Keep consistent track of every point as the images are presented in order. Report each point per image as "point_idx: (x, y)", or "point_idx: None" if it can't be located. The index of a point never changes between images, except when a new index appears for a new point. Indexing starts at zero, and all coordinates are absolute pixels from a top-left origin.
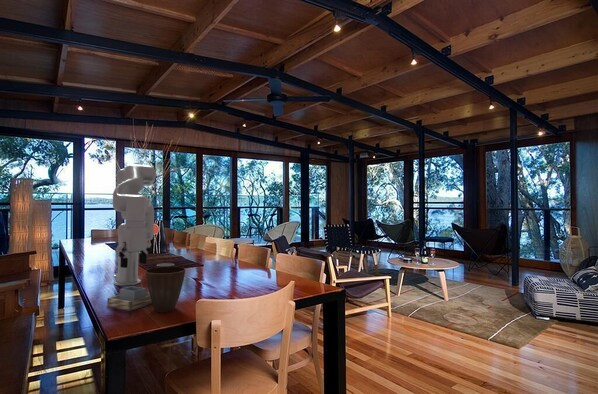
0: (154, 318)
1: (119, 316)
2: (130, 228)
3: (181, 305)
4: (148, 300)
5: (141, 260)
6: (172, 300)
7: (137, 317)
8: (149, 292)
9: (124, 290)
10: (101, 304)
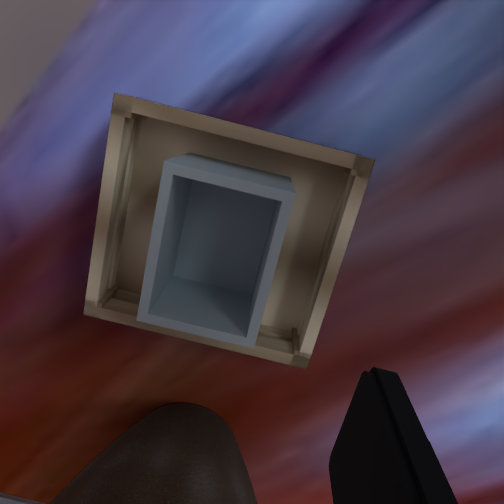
0: (50, 458)
1: (12, 290)
2: None
3: (272, 488)
4: (301, 297)
5: (359, 437)
6: None
7: (33, 382)
8: (74, 478)
9: (156, 216)
10: (173, 10)
